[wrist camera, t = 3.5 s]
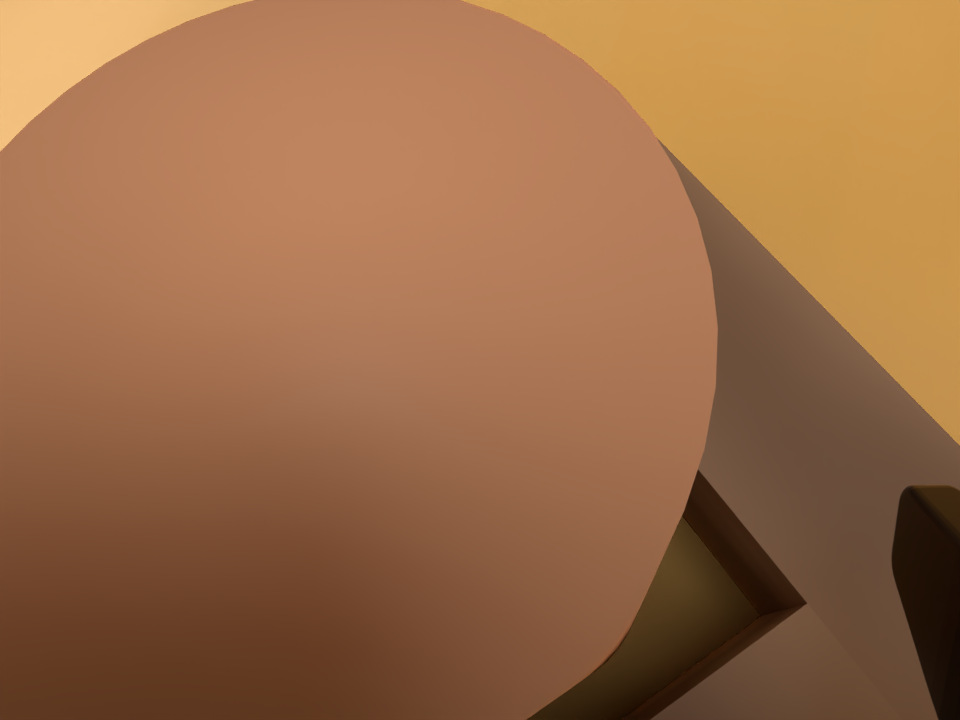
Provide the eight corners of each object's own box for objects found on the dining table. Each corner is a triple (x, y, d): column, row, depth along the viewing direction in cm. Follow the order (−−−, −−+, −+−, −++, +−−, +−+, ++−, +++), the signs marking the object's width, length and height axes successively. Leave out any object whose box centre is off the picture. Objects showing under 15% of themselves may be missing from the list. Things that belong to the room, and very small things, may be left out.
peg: (500, 740, 15) (38, 1076, 3) (382, 543, 17) (-212, 265, 5) (689, 602, 15) (941, 415, 3) (555, 423, 17) (403, -127, 5)
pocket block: (433, 1128, 13) (360, 1313, 9) (136, 496, 18) (12, 456, 14) (1034, 667, 14) (1183, 673, 10) (596, 184, 19) (590, 70, 15)
